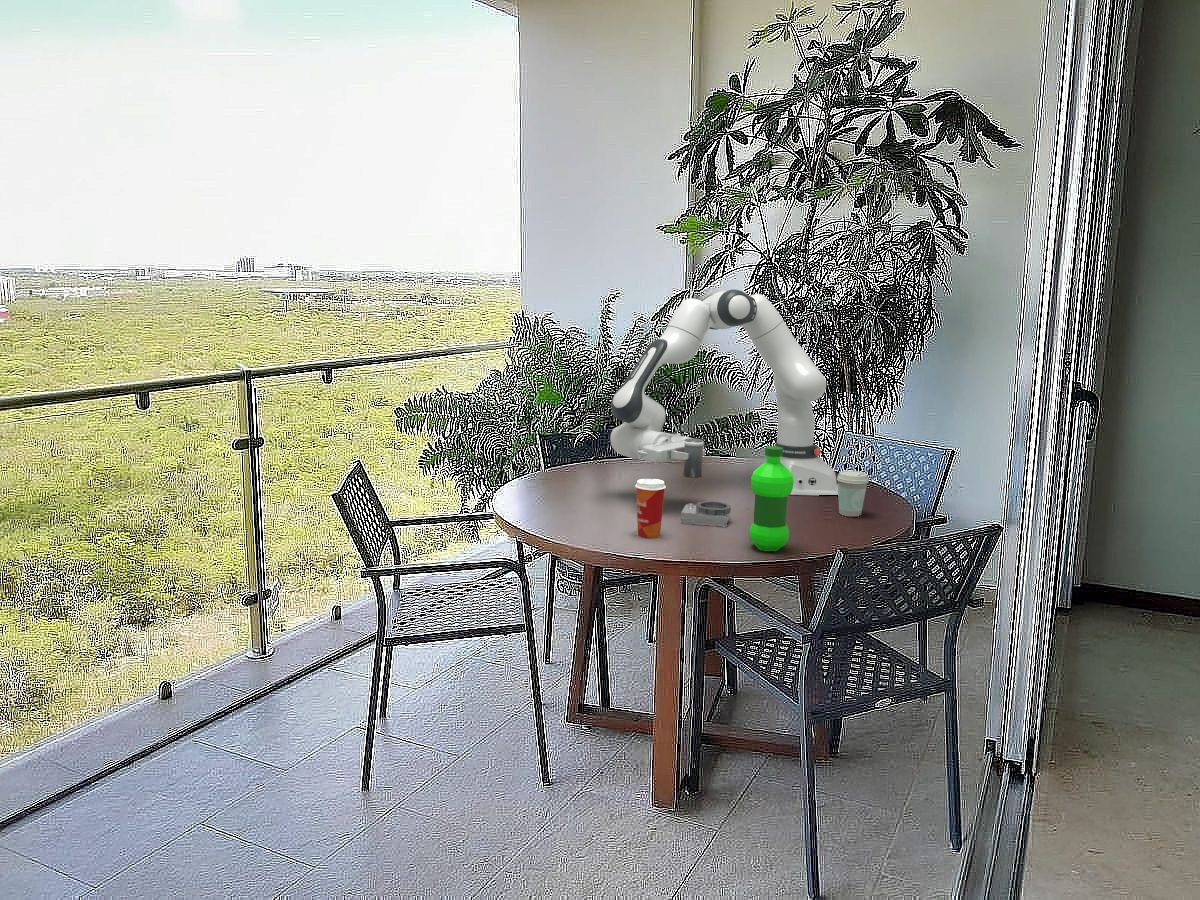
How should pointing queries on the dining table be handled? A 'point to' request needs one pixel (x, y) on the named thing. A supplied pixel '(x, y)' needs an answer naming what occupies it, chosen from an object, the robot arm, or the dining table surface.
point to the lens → (693, 458)
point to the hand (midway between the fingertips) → (696, 454)
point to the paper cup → (649, 507)
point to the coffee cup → (851, 492)
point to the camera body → (706, 513)
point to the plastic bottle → (771, 502)
